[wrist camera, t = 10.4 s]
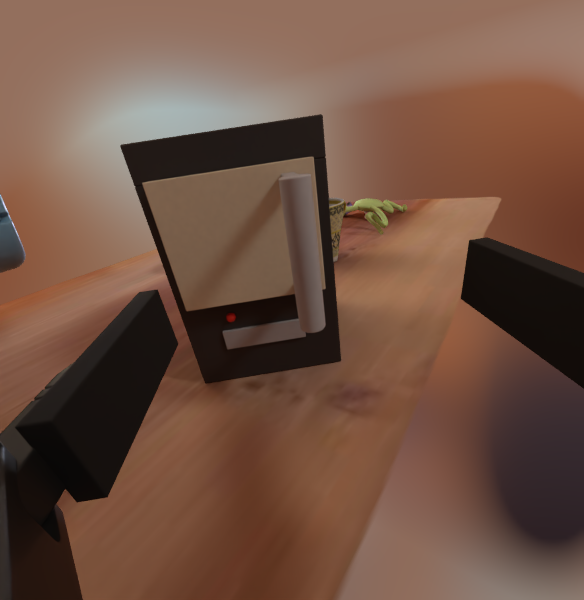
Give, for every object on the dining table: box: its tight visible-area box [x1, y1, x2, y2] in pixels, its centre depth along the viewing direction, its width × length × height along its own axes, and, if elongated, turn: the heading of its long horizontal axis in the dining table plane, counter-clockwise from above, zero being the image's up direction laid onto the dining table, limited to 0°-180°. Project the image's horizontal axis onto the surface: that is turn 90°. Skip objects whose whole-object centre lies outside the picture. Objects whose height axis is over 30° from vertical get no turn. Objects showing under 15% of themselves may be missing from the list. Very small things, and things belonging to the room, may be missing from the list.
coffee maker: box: [121, 115, 341, 383], centre depth 28 cm, size 14×13×20 cm
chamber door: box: [142, 157, 326, 333], centre depth 18 cm, size 7×11×9 cm, turn 95°
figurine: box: [344, 199, 407, 234], centre depth 72 cm, size 18×27×6 cm
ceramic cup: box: [329, 198, 346, 262], centre depth 51 cm, size 13×10×10 cm
